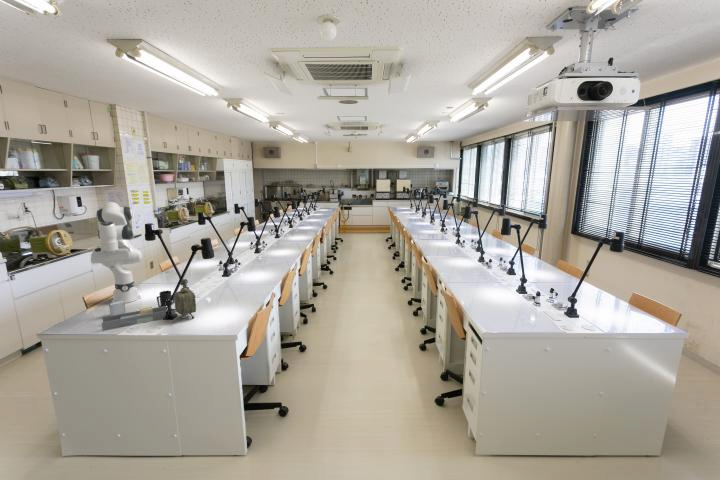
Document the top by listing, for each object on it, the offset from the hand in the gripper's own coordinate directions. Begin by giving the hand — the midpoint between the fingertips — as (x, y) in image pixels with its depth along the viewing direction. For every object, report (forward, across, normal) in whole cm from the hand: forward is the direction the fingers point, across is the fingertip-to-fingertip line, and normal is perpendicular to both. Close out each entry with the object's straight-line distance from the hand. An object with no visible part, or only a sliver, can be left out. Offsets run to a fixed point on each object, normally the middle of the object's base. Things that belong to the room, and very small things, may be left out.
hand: (112, 268), depth 213 cm
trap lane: (+34, -10, +12) cm, 37 cm away
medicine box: (+34, 0, -7) cm, 35 cm away
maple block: (+31, -15, +12) cm, 37 cm away
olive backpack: (+34, -37, +23) cm, 55 cm away
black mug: (+34, -27, -2) cm, 44 cm away
